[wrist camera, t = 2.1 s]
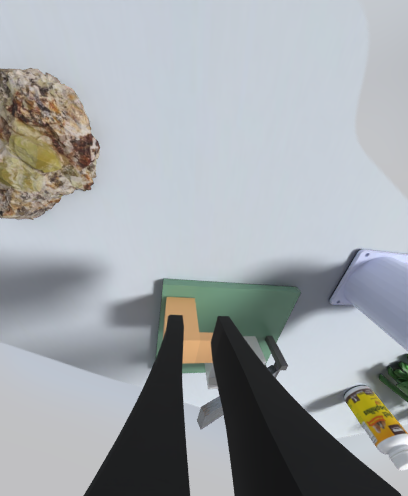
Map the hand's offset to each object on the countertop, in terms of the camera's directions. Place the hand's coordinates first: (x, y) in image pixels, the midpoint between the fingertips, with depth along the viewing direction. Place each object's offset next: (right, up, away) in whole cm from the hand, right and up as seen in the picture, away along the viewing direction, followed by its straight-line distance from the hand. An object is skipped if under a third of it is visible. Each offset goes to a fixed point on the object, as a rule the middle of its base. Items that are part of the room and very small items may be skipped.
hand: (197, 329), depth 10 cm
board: (+3, -6, +15) cm, 16 cm away
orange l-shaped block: (-1, -2, +11) cm, 11 cm away
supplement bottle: (+31, -25, +29) cm, 49 cm away
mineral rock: (-12, +11, +4) cm, 17 cm away
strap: (+4, -11, +11) cm, 16 cm away
